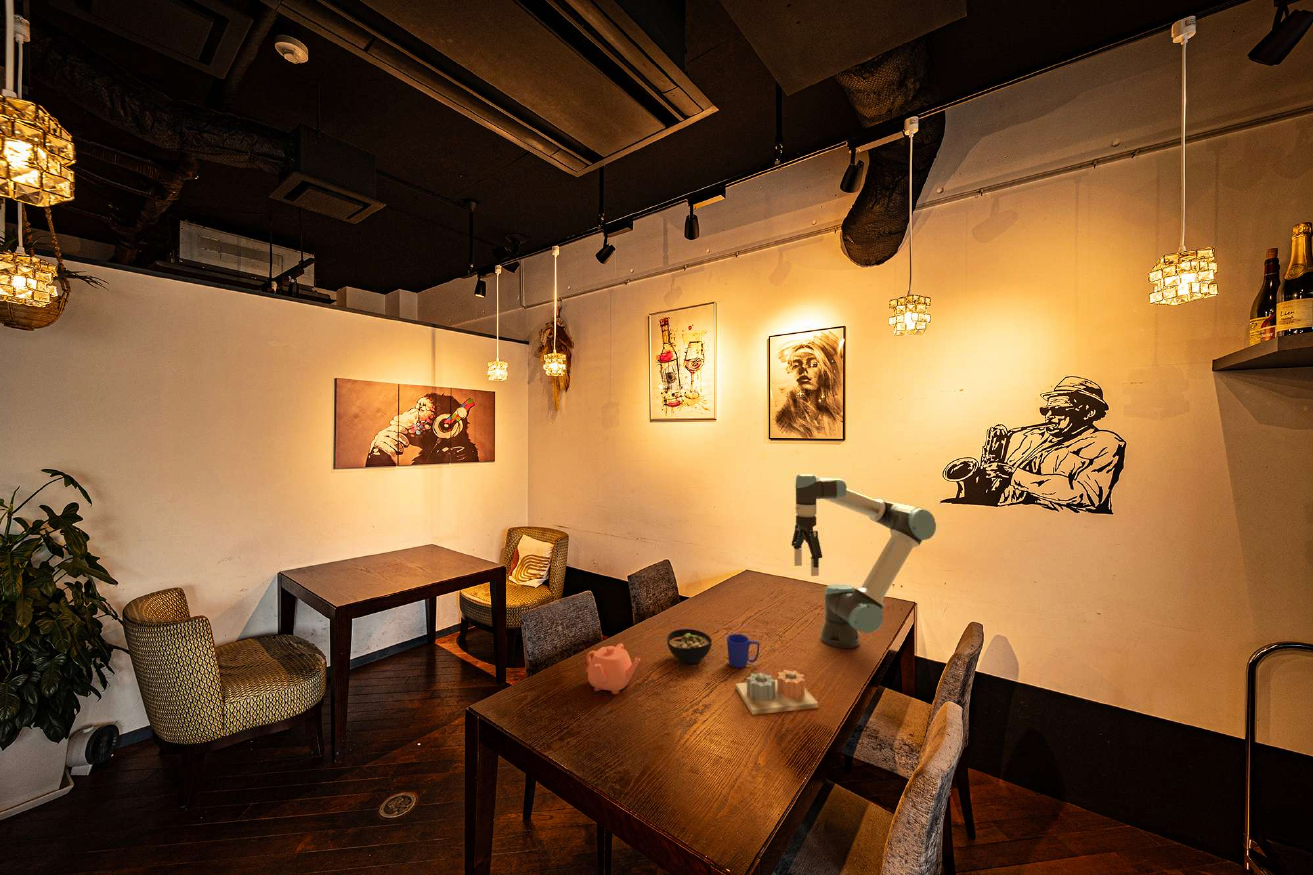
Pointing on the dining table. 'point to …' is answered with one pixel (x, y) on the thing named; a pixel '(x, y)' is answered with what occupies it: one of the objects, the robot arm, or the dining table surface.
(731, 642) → the mug
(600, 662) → the teapot
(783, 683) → the gear
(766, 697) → the gear
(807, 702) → the board
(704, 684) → the dining table surface
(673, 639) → the bowl
